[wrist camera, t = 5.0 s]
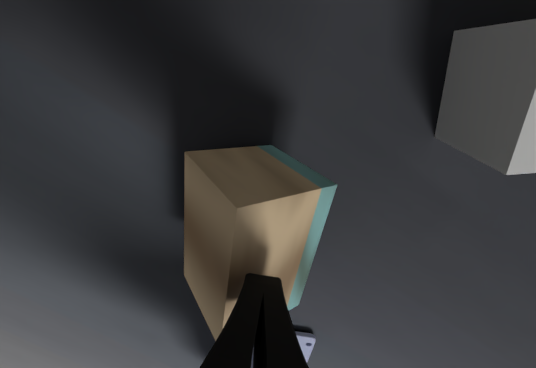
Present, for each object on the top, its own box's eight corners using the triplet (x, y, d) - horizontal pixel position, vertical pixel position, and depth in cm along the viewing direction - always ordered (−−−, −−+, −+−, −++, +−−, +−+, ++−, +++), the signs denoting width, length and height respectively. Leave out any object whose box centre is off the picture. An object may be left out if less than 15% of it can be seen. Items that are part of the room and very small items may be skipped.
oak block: (298, 304, 15) (219, 350, 12) (253, 250, 18) (183, 275, 15) (337, 184, 11) (236, 208, 8) (271, 144, 14) (184, 151, 11)
